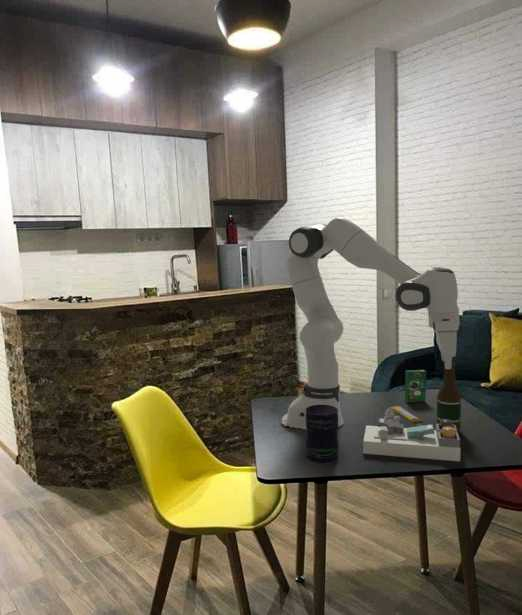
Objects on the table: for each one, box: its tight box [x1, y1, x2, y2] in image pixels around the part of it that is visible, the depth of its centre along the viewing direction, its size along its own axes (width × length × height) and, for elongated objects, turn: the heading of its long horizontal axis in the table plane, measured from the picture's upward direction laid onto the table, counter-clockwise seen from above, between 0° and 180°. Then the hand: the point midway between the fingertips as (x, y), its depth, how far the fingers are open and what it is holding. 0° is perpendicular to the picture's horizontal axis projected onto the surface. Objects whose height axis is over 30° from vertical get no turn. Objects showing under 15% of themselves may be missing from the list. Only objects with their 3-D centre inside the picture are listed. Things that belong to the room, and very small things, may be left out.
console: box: [362, 420, 461, 462], centre depth 157 cm, size 28×14×7 cm, turn 75°
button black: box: [440, 419, 453, 429], centre depth 157 cm, size 4×4×2 cm
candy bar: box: [390, 405, 422, 423], centre depth 188 cm, size 17×4×2 cm, turn 12°
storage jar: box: [305, 405, 340, 464], centre depth 152 cm, size 10×10×15 cm
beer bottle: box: [436, 361, 462, 434], centre depth 170 cm, size 8×8×24 cm
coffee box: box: [404, 369, 427, 404], centre depth 204 cm, size 8×3×13 cm, turn 97°
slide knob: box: [381, 426, 387, 439], centre depth 155 cm, size 2×3×3 cm, turn 165°
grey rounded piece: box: [382, 406, 401, 424], centre depth 176 cm, size 5×7×8 cm
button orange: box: [442, 427, 455, 439], centre depth 150 cm, size 4×4×2 cm
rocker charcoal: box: [377, 417, 405, 433], centre depth 161 cm, size 8×4×2 cm, turn 74°
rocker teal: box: [406, 424, 435, 437], centre depth 156 cm, size 8×4×2 cm, turn 75°
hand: (446, 364), depth 154 cm, fingers open, 8 cm apart
